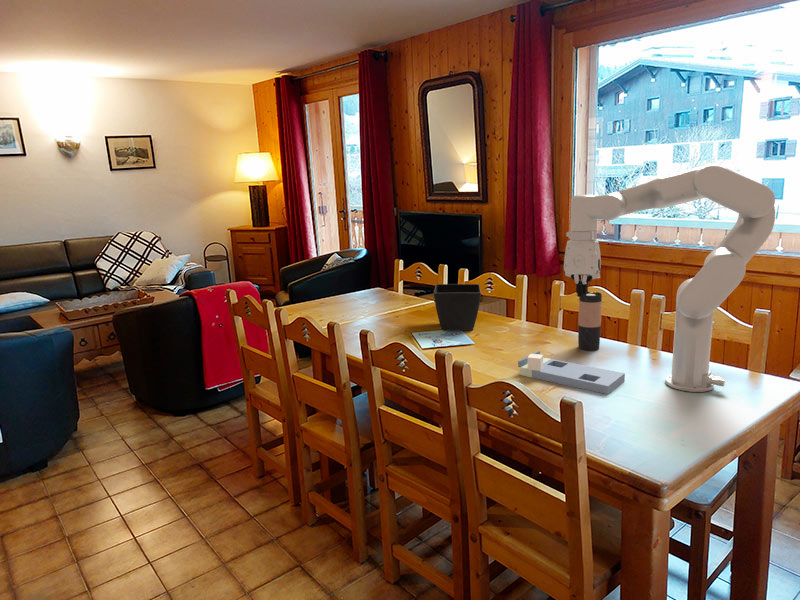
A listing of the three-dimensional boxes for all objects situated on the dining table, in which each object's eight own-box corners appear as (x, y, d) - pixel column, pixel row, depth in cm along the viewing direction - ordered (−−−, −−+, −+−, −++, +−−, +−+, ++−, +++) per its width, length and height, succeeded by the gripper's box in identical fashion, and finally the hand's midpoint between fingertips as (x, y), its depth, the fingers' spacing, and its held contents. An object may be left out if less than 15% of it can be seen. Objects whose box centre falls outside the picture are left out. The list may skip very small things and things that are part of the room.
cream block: (543, 366, 179) (543, 354, 178) (540, 370, 175) (540, 358, 175) (530, 365, 181) (530, 353, 180) (527, 369, 177) (527, 357, 176)
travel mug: (585, 352, 199) (587, 296, 195) (573, 346, 207) (574, 292, 202) (604, 349, 201) (606, 294, 197) (591, 343, 209) (593, 290, 204)
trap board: (624, 381, 171) (625, 366, 170) (607, 394, 162) (608, 379, 161) (537, 363, 190) (537, 350, 189) (518, 374, 180) (518, 361, 179)
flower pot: (479, 320, 247) (479, 283, 243) (481, 332, 229) (481, 292, 225) (436, 321, 249) (435, 283, 245) (434, 333, 231) (433, 292, 227)
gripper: (554, 237, 173) (553, 295, 176) (602, 238, 163) (600, 301, 167) (565, 234, 178) (564, 291, 182) (612, 236, 168) (610, 296, 172)
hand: (581, 295), depth 174 cm, fingers closed
